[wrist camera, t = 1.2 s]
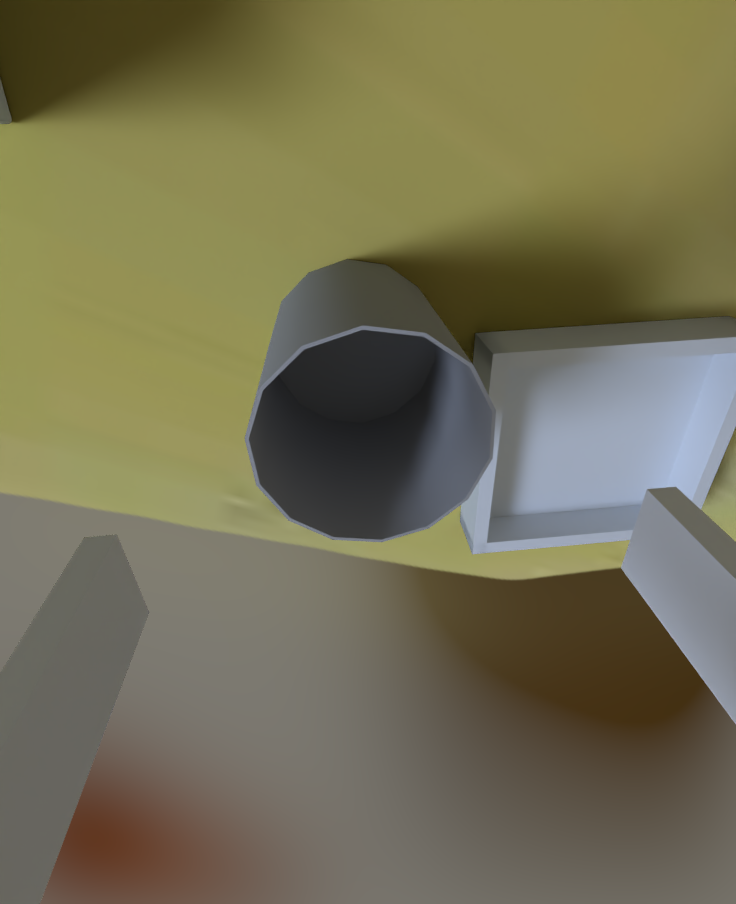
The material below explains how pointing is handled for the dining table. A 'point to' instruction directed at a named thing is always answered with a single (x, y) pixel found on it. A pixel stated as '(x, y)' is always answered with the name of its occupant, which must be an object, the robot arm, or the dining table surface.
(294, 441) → the cup
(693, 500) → the grey tray
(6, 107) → the small box
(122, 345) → the dining table surface
